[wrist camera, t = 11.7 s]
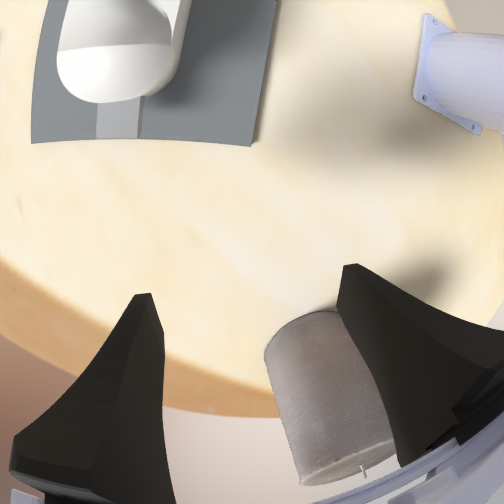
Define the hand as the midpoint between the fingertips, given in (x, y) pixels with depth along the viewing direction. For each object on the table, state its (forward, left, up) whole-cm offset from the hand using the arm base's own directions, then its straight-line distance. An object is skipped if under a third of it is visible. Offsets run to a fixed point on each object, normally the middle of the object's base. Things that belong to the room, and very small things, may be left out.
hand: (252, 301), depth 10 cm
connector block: (+6, -11, -9) cm, 15 cm away
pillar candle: (-10, +14, -10) cm, 20 cm away
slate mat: (+6, -11, -9) cm, 16 cm away
